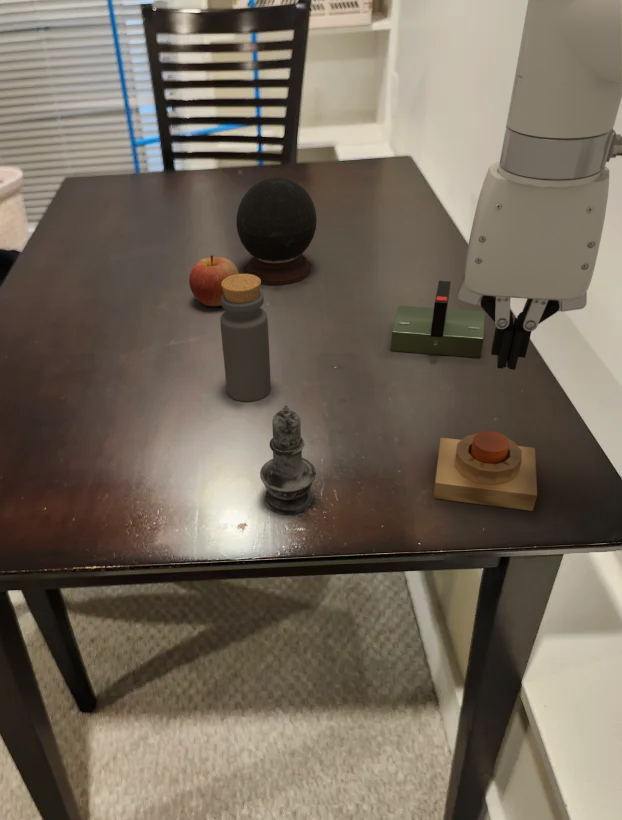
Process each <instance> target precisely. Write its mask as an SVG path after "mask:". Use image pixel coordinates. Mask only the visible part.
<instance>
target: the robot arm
mask: <svg viewBox="0 0 622 820" xmlns="http://www.w3.org/2000/svg"><path fill="white" fill-rule="evenodd" d="M524 16H525V17H524V23H523V28H522V34H521V40H520V45H519V51H518V57H517V64H516V68H515V74H514V78H513V79H514V80H513V86H512V90H511V95H510V102H509V107H508V113H507V120H506V125H505V131H504V135H503V140H502V146H501V151H500V152H501V153H500V158H499V161H496V162H493V163H491V164H490V165H489V167H488V169H487V171H486V174H485V176H484V180H483V183H482V186H481V189H480V192H479V195H478V199H477V204H476V208H475V210H474V217H473V221H472V225H471V230H470V234H469V239H468V245H467V250H466V255H465V266H464V267H465V269H464V270H465V272H464V275H463V278H462V280H461V282H460V284H459V286H458V290H457V299H458V301H460V302H463V303H466V304H469V305H473V306H476V307H478V306H479V307H481V308H482V310H483V311H485V313H486V314H487V316H489V318H490V319H491V320H492V321H493V322H494V325H495V329H494V334H493V340H492V344H491V349H490V350H491V351H490V355H491V356H497V359H496V360H497V362H496V363H497V364H496V365H497V366H496V369H502V370H503V369H504V368H508V370H513V371H515V370H516V368H517V364H518V359H519V358H524V359H525V358H526V356H527V351H528V348H529V344H530V339H531V336H532V333H533V331H535V330H536V329H537V328H538V326H539V324H542V323H543V322H544V321H546V320H547V319H549V318H550V317H552V316H553V315H555V314H556V313H558V312H562V313H563V312H571V311H578V310H582V309H584V308H586V306H587V301H588V300H587V298H588V297H587V293H588V290H589V287H590V286H591V282H592V280H593V276H594V271H595V267H596V264H597V259H598V255H599V249H600V244H601V239H602V235H603V231H604V230H603V229H604V225H605V219H606V213H607V205H608V199H609V191H610V190H609V188H610V169H609V168H608V167H607V166H606V164H607V163H610V160H611V159H615V158H617V157H622V134H618V133H616V129H615V130H614V128H615V123H616V120H617V116H618V112H619V109H620V105H621V102H622V0H528V1H527V6H526V11H525V15H524ZM513 298H514V299H526V300H525V303H524V306H523V308H522V311H521V312H519V313H518V315H517V317H513V316H514V315H513V311H511V299H513Z"/></svg>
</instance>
